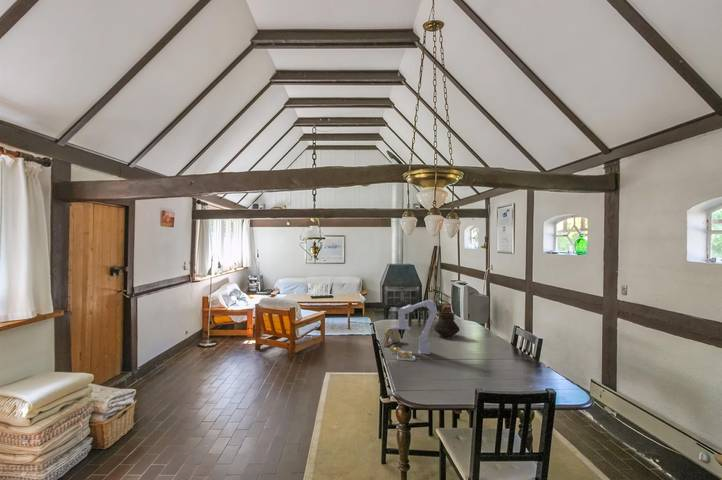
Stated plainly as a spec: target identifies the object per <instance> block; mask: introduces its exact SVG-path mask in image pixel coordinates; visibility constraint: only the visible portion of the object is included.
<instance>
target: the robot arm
mask: <svg viewBox="0 0 722 480" xmlns="http://www.w3.org/2000/svg"><path fill="white" fill-rule="evenodd" d="M422 307H424V308H426V309H428V310H429V312H430V313H429V316H428V319H427V320H426V323H425V326H424V327H423V330H422V332H421V334H420V335H419V336H418V340H419V341H418V355H419V354H420V355H431V352H432V351H431V342H430V341H428V339H429V335H430V334H429V333H430V330H431V327H432V326H433V323H434V320H435V319H436V317H437V313H438V311H437V303H436V301H435V300H434V299H432V298H431V299H427V300H426V299H425V300H423V301H421V302H418V303H415V304H413V305H412V304H407V305H405V306H402V307H400V308H399V309H397V314H398V320H397V323H398V324H397V325H398V326H393V327H392V328H393V330H399V335H400V340H403V337H404V334H405V332H406V331H411V327H409V326H406V314H409V313H411V312H414V310H416V309H418V308H422Z"/></svg>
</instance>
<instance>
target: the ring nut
mask: <svg viewBox="0 0 722 480" xmlns="http://www.w3.org/2000/svg"><path fill="white" fill-rule="evenodd" d="M400 350H401V347H399V346H393V345H389V351H390V352H391V351H393V352H398V351H400Z"/></svg>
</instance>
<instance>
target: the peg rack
mask: <svg viewBox="0 0 722 480" xmlns="http://www.w3.org/2000/svg"><path fill="white" fill-rule="evenodd" d="M396 355H397V356H396V360H397V361H413V362H414V361H416V355H412V358H411V355H410V358H406V355H404V358H403V357H401V358H398V354H396Z"/></svg>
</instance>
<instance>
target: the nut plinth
mask: <svg viewBox="0 0 722 480" xmlns="http://www.w3.org/2000/svg"><path fill="white" fill-rule="evenodd" d="M400 351H403V349H400ZM391 354H392V355H398V352H393V351H390V355H391Z"/></svg>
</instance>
